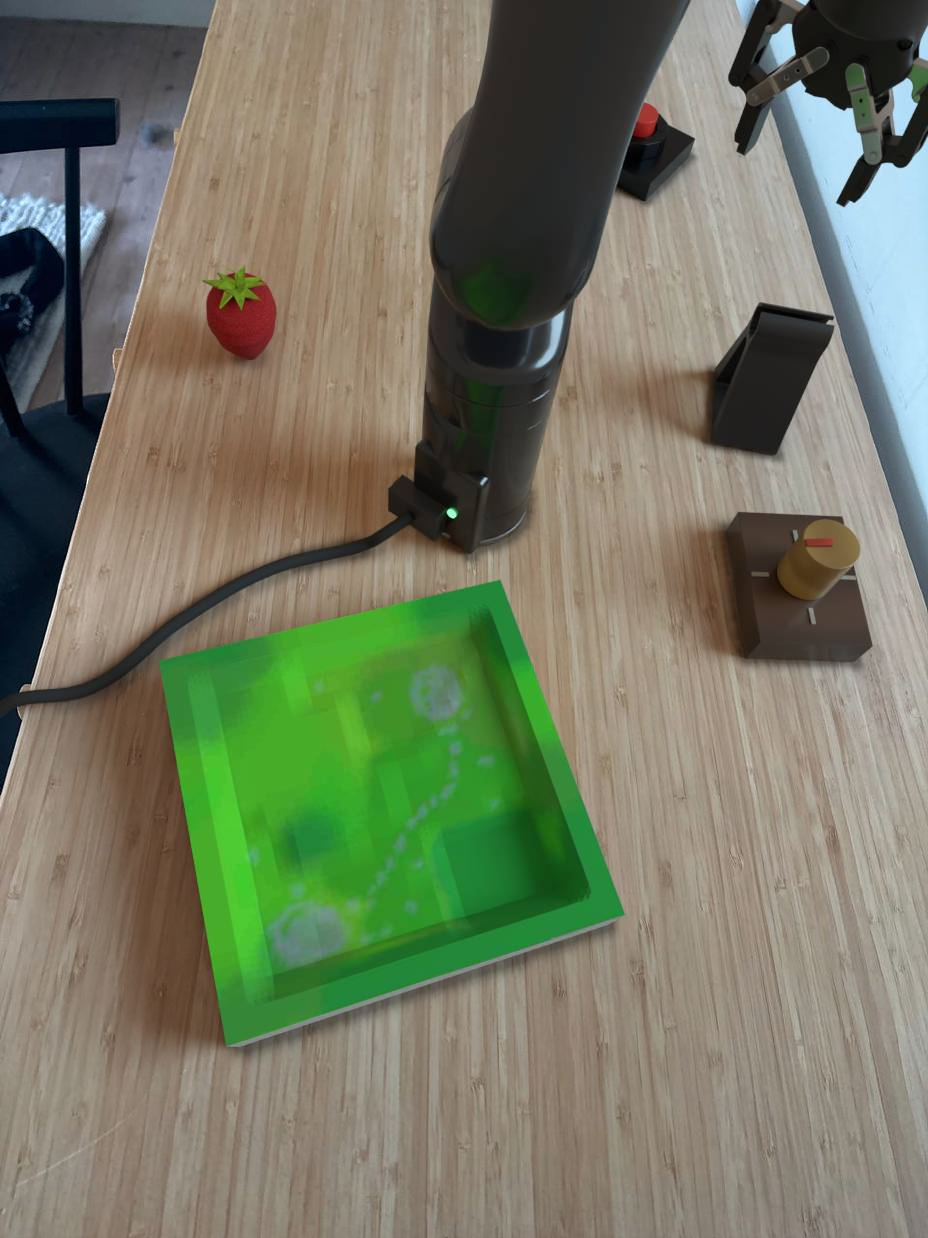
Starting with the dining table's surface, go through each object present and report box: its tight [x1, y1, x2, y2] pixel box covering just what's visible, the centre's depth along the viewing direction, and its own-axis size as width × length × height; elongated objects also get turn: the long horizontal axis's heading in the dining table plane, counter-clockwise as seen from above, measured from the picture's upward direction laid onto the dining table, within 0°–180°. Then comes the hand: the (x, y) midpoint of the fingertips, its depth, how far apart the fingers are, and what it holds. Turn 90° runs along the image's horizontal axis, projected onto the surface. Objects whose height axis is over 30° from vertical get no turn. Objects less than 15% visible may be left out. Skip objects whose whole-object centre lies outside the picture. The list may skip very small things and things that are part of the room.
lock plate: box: [725, 511, 874, 663], centre depth 71 cm, size 12×9×3 cm
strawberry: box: [202, 263, 278, 361], centre depth 74 cm, size 6×8×10 cm
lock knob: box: [777, 519, 861, 600], centre depth 67 cm, size 4×4×5 cm
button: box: [632, 101, 659, 137], centre depth 92 cm, size 4×4×2 cm
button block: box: [616, 112, 696, 202], centre depth 94 cm, size 10×10×4 cm
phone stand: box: [710, 301, 836, 456], centre depth 75 cm, size 9×6×12 cm, turn 170°
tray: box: [158, 579, 626, 1048], centre depth 59 cm, size 25×25×5 cm
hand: (794, 174), depth 65 cm, fingers open, 8 cm apart
